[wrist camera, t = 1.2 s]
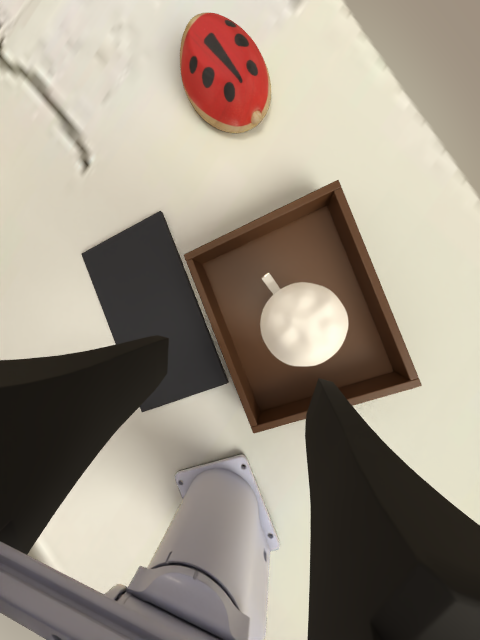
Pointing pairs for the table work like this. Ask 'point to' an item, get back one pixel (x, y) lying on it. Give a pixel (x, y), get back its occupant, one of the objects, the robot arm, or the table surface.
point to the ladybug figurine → (224, 73)
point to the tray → (293, 267)
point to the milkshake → (302, 323)
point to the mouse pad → (155, 306)
